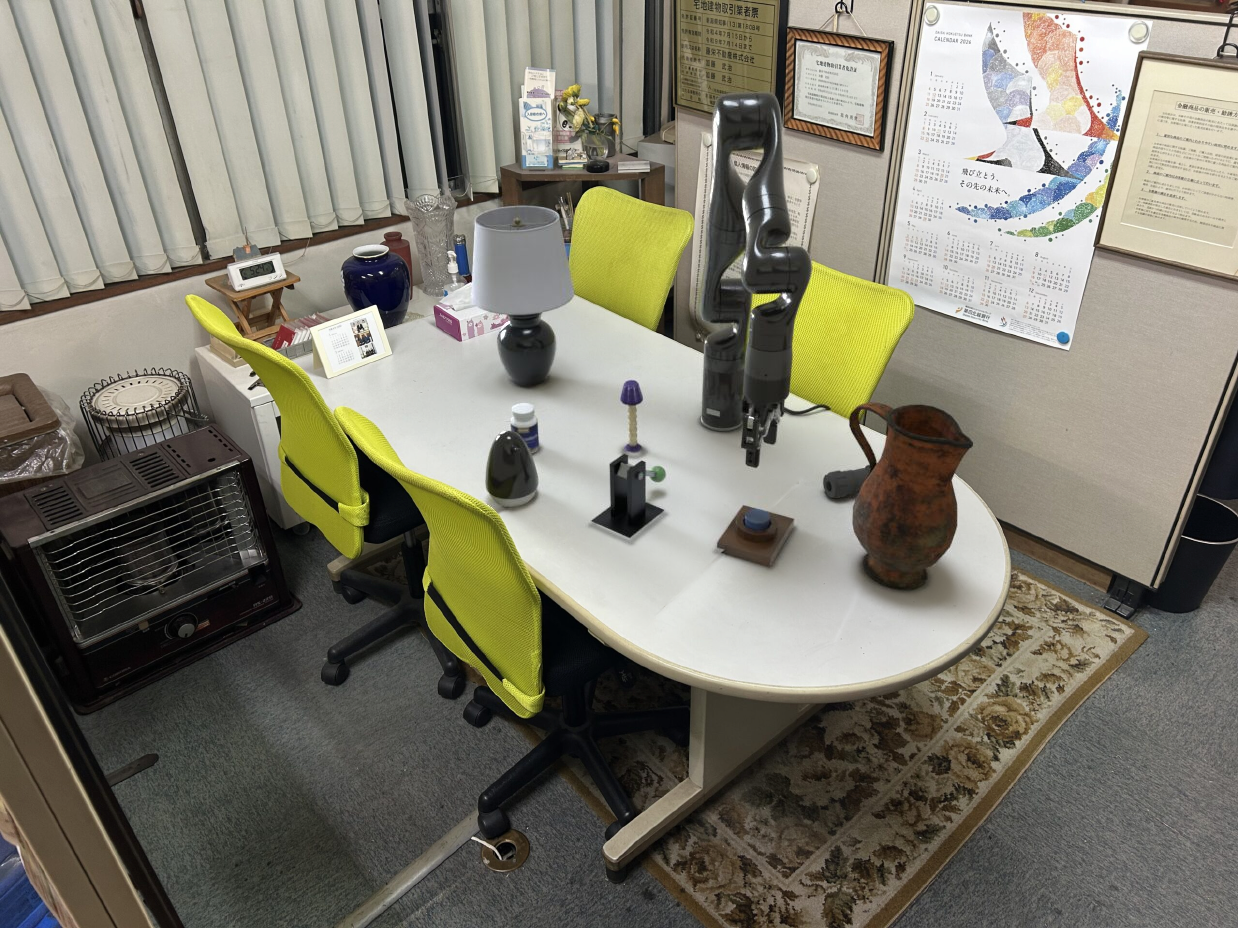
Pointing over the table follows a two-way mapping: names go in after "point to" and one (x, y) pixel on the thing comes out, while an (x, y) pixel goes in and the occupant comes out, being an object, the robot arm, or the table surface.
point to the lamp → (521, 284)
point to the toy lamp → (632, 411)
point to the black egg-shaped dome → (510, 471)
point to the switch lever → (655, 473)
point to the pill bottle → (526, 425)
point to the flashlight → (844, 482)
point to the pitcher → (908, 493)
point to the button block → (755, 538)
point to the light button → (757, 519)
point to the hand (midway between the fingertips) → (761, 454)
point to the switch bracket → (627, 500)
